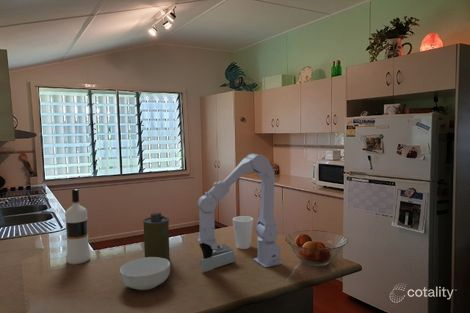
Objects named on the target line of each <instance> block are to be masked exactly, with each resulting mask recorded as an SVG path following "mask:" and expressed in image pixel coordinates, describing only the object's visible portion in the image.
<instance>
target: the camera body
mask: <svg viewBox="0 0 470 313" xmlns="http://www.w3.org/2000/svg"><path fill="white" fill-rule="evenodd" d="M229 251H234V249H233V248H231V247H230V246H229V245H227V244H226V243H223V244H219V245H218V244H217V249H214V250H213V253H212V256H216V255H219V254H223V253H226V252H229ZM202 259H204V256H203V255H202Z"/></svg>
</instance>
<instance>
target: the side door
mask: <svg viewBox="0 0 470 313" xmlns="http://www.w3.org/2000/svg"><path fill="white" fill-rule="evenodd" d="M200 262H201V263H200V264H201V265H200V266H201V268H200V269H201V272H207V271H210V270H213V269H215V268H218V267H222V266H225V265H228V264H231V263H234V262H235V250H233V251H229V252H226V253H223V254H219V255H216V256H212V257H209V258H206V259H203V258H202V259H201V260H200Z"/></svg>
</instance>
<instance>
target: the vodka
mask: <svg viewBox="0 0 470 313" xmlns="http://www.w3.org/2000/svg"><path fill="white" fill-rule="evenodd" d="M79 192H80V191H79V189H78V188H76V189H75V188H74V189H71V202H72V205H71V206H70V207H68V208H67V209H66V211H65V213H64V217H65V219H64V220H65V229H66V230H65V231H66V239H65V240H66V256H65V261H66V263H68V264H69V265H81V264H84V263H87V262H88V261H89V260H91V251H90V246H89V238H90V237H89V232H88V231H89V230H88V219H89V218H88V209H87V208H85V207H84V206H82V205H81V204H80V193H79Z"/></svg>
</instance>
